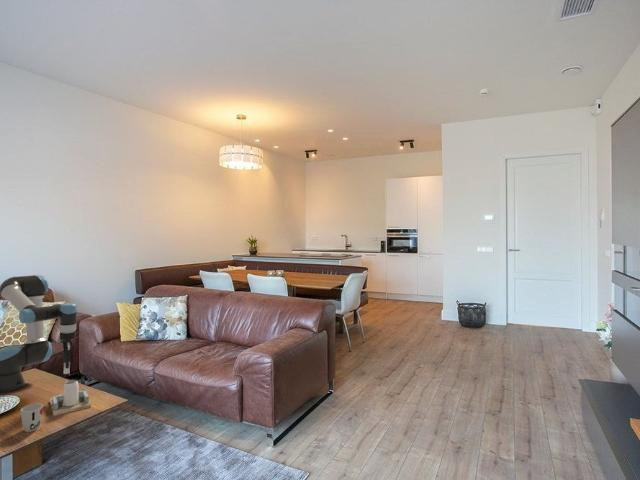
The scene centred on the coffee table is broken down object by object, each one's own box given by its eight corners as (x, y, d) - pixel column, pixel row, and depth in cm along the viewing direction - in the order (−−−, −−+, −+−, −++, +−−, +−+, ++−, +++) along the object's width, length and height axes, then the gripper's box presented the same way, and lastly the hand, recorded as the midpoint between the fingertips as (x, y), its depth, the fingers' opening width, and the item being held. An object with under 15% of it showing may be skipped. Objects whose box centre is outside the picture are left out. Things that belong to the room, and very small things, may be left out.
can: (75, 400, 201) (75, 378, 201) (80, 403, 197) (80, 381, 197) (61, 404, 196) (61, 381, 196) (65, 408, 192) (66, 384, 192)
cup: (30, 434, 169) (30, 412, 169) (15, 432, 171) (16, 410, 171) (46, 425, 177) (47, 404, 177) (32, 423, 179) (33, 402, 179)
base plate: (49, 401, 202) (49, 393, 202) (84, 394, 212) (84, 386, 212) (53, 415, 187) (53, 406, 187) (90, 407, 197) (90, 398, 197)
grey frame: (52, 402, 198) (52, 396, 198) (85, 395, 207) (85, 389, 207) (54, 409, 189) (54, 404, 189) (88, 402, 199) (88, 396, 199)
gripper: (58, 329, 212) (57, 370, 212) (61, 335, 202) (59, 378, 202) (74, 327, 216) (73, 368, 217) (77, 333, 206) (76, 375, 207)
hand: (66, 373), depth 210 cm, fingers closed
